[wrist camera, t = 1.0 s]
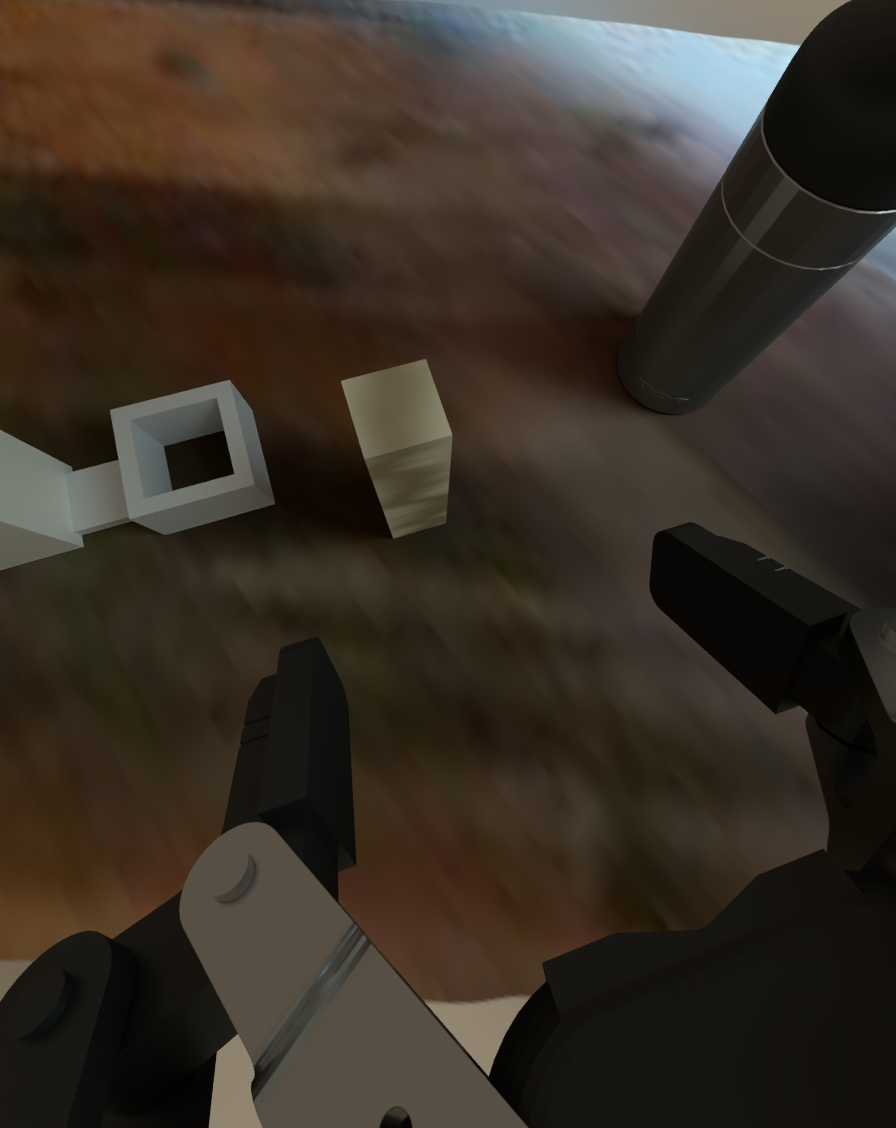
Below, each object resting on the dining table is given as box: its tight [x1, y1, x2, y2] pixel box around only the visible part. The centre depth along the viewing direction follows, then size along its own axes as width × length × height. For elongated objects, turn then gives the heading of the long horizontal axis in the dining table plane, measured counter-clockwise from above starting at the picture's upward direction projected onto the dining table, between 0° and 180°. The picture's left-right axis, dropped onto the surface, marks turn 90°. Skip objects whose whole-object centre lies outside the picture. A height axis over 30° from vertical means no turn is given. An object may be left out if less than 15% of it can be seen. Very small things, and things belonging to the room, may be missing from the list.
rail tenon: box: [341, 359, 452, 539], centre depth 28 cm, size 4×4×14 cm
